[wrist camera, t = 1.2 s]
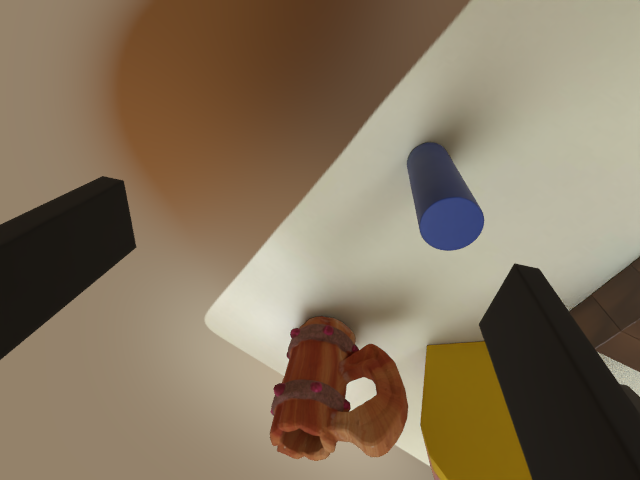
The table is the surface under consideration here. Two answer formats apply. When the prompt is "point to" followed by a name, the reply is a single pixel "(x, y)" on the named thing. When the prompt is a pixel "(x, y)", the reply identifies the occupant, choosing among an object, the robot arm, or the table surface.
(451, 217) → the blue long cylinder
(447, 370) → the alarm clock
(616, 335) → the holder
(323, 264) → the table surface
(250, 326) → the table surface
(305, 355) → the mug
